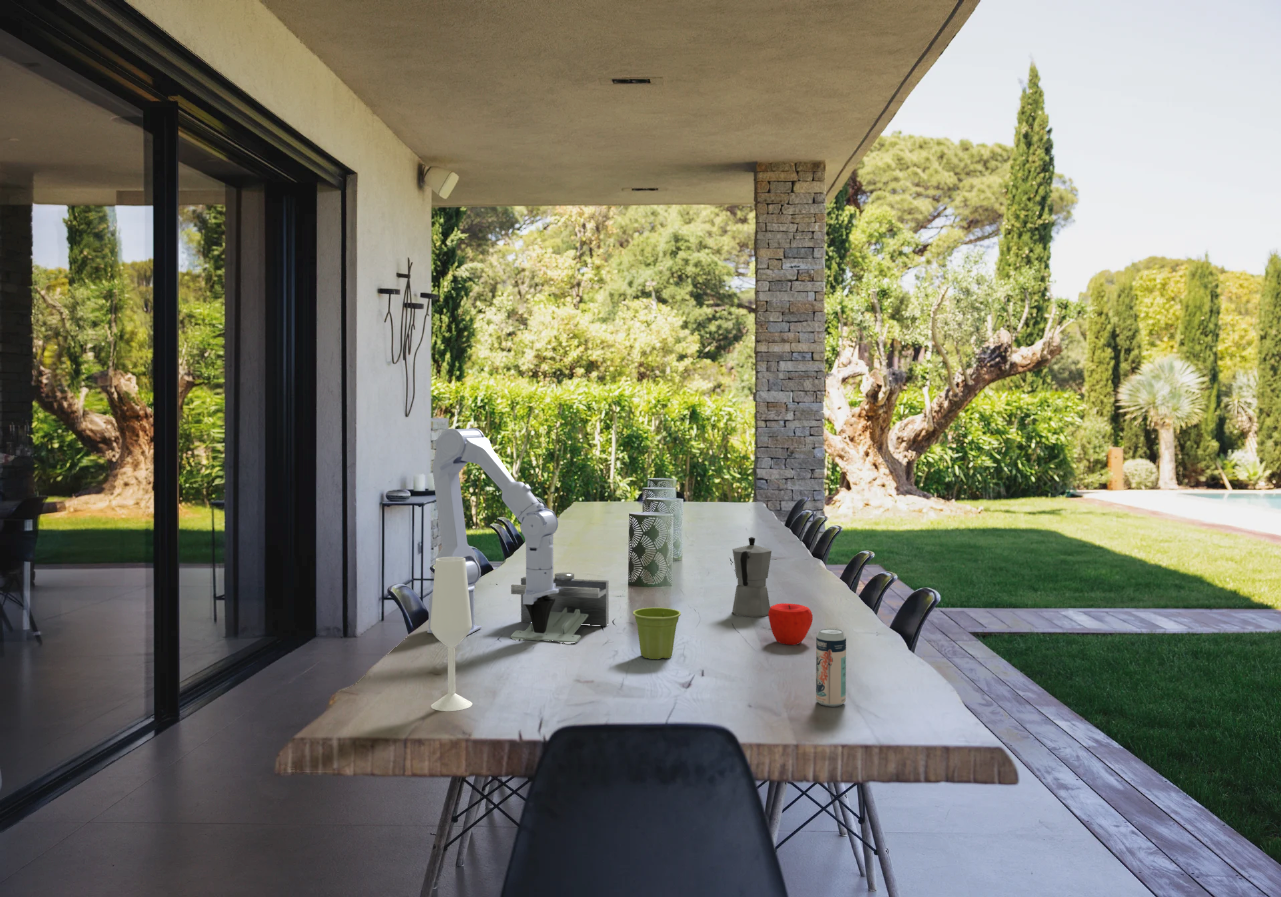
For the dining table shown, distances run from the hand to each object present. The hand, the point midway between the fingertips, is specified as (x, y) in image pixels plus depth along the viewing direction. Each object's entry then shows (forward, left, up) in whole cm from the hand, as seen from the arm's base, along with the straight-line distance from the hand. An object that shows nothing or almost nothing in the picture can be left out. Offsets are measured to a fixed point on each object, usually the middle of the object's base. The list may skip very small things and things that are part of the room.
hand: (539, 632), depth 213 cm
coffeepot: (+39, +37, -2) cm, 54 cm away
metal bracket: (+2, +5, -2) cm, 5 cm away
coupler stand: (0, +13, -2) cm, 13 cm away
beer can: (+62, -32, -2) cm, 70 cm away
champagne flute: (+2, -48, -2) cm, 48 cm away
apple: (+51, +10, -2) cm, 52 cm away
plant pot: (+27, -8, -2) cm, 28 cm away
